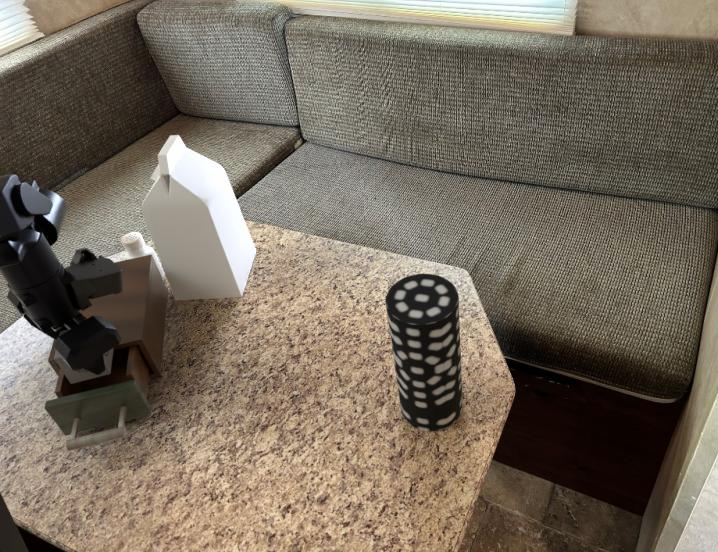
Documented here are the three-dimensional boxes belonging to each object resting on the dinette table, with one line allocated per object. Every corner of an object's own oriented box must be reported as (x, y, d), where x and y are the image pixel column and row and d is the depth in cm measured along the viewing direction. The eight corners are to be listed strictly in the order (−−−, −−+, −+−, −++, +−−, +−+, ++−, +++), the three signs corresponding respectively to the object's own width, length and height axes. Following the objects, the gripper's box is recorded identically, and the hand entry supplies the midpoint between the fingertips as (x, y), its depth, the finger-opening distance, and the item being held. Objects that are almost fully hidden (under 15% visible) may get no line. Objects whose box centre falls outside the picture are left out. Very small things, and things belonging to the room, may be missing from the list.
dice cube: (71, 384, 79) (53, 358, 76) (76, 356, 83) (60, 331, 80) (110, 373, 80) (95, 348, 77) (113, 346, 84) (99, 321, 81)
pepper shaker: (149, 289, 105) (128, 247, 99) (134, 282, 107) (113, 240, 101) (167, 276, 107) (148, 233, 101) (152, 269, 109) (133, 227, 103)
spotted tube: (393, 424, 80) (375, 318, 67) (410, 375, 86) (397, 269, 73) (455, 437, 77) (449, 330, 65) (468, 385, 83) (465, 278, 71)
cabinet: (161, 376, 90) (141, 339, 84) (73, 397, 88) (47, 361, 83) (168, 290, 104) (151, 254, 99) (92, 307, 103) (72, 271, 98)
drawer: (148, 443, 80) (131, 415, 76) (58, 466, 78) (35, 438, 74) (159, 321, 97) (145, 293, 93) (86, 338, 96) (69, 310, 92)
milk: (241, 297, 101) (194, 163, 85) (175, 300, 102) (115, 168, 86) (256, 251, 111) (216, 122, 94) (195, 254, 111) (145, 128, 95)
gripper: (136, 266, 70) (179, 356, 80) (65, 213, 81) (111, 298, 91) (41, 322, 64) (100, 411, 74) (-21, 257, 75) (38, 342, 85)
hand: (89, 360), depth 81 cm, fingers closed on dice cube, 6 cm apart
